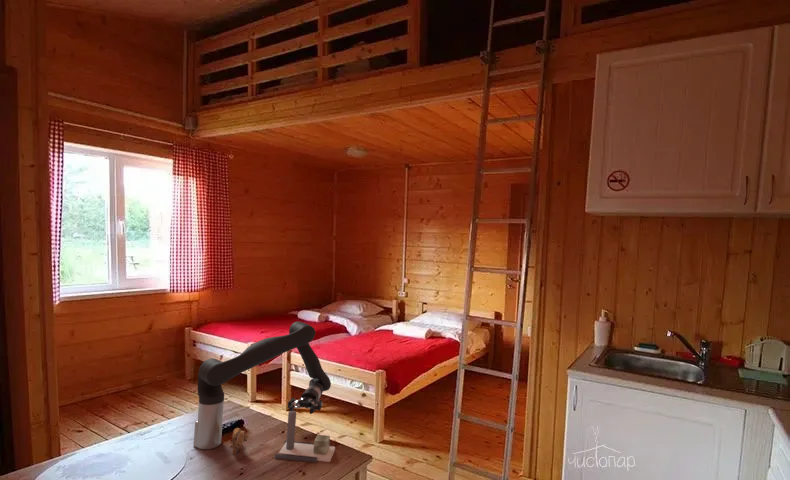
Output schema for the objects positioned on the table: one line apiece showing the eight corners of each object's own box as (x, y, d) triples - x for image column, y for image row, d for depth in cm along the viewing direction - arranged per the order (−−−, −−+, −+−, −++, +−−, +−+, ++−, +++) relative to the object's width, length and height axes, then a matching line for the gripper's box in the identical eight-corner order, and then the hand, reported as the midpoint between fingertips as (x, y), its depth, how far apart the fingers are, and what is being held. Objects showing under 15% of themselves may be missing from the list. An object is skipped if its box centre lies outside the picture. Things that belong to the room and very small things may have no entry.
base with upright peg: (278, 456, 159) (281, 416, 159) (286, 445, 168) (288, 407, 168) (329, 462, 158) (332, 420, 158) (334, 450, 167) (337, 411, 167)
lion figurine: (248, 455, 159) (250, 432, 159) (234, 458, 156) (235, 434, 156) (238, 439, 171) (240, 417, 171) (225, 442, 168) (226, 419, 168)
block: (313, 453, 160) (314, 440, 160) (316, 447, 165) (317, 434, 165) (326, 454, 160) (327, 441, 160) (329, 448, 165) (329, 435, 165)
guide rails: (274, 458, 158) (274, 454, 158) (284, 444, 169) (284, 440, 169) (316, 463, 157) (316, 458, 157) (323, 448, 168) (323, 444, 168)
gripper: (296, 387, 191) (284, 400, 175) (326, 389, 190) (317, 403, 174) (295, 403, 191) (283, 418, 175) (325, 406, 190) (316, 421, 174)
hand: (300, 410), depth 175 cm, fingers open, 8 cm apart
